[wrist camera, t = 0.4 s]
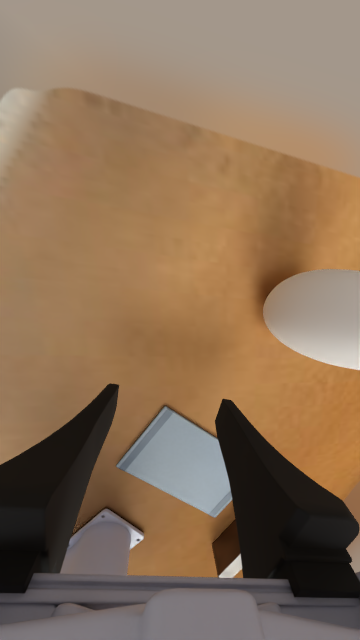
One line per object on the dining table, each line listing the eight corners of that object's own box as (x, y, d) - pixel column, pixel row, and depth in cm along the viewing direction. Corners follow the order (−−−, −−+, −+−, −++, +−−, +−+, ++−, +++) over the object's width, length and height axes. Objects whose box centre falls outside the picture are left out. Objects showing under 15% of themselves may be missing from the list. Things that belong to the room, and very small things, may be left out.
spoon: (227, 555, 31) (234, 587, 28) (201, 543, 30) (206, 575, 27) (289, 491, 29) (305, 517, 26) (264, 476, 28) (278, 501, 25)
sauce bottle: (318, 291, 23) (806, 320, 6) (286, 345, 24) (609, 512, 7) (268, 262, 22) (696, 178, 4) (235, 320, 23) (474, 445, 5)
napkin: (214, 515, 29) (215, 518, 29) (116, 464, 25) (115, 466, 25) (261, 465, 28) (262, 467, 28) (165, 405, 24) (165, 407, 24)
